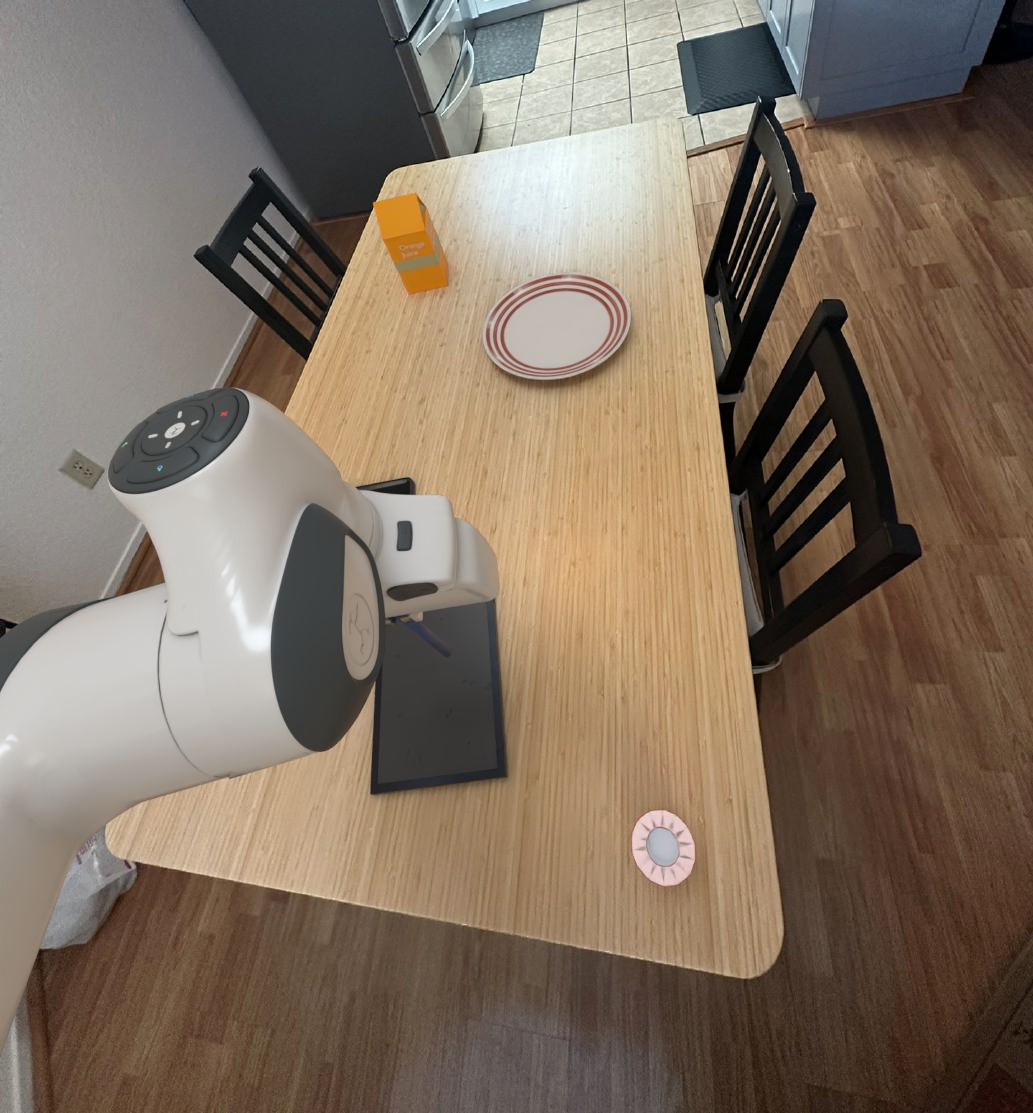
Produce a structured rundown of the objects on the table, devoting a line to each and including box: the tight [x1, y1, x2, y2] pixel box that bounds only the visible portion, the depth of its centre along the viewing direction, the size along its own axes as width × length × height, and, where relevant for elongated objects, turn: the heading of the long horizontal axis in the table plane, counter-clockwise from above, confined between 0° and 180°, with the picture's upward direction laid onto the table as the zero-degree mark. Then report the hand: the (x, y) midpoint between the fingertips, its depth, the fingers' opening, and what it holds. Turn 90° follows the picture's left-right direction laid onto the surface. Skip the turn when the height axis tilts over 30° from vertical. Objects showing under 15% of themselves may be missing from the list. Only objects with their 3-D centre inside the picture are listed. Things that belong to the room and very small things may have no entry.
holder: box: [630, 808, 697, 888], centre depth 57 cm, size 6×6×13 cm
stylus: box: [394, 616, 452, 657], centre depth 55 cm, size 1×1×18 cm
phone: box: [355, 476, 416, 495], centre depth 94 cm, size 8×1×15 cm
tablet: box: [369, 597, 509, 796], centre depth 77 cm, size 24×17×1 cm
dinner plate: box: [481, 271, 632, 381], centre depth 107 cm, size 28×27×3 cm
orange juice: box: [372, 191, 449, 295], centre depth 118 cm, size 8×9×20 cm
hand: (402, 615), depth 51 cm, fingers closed on stylus, 1 cm apart
